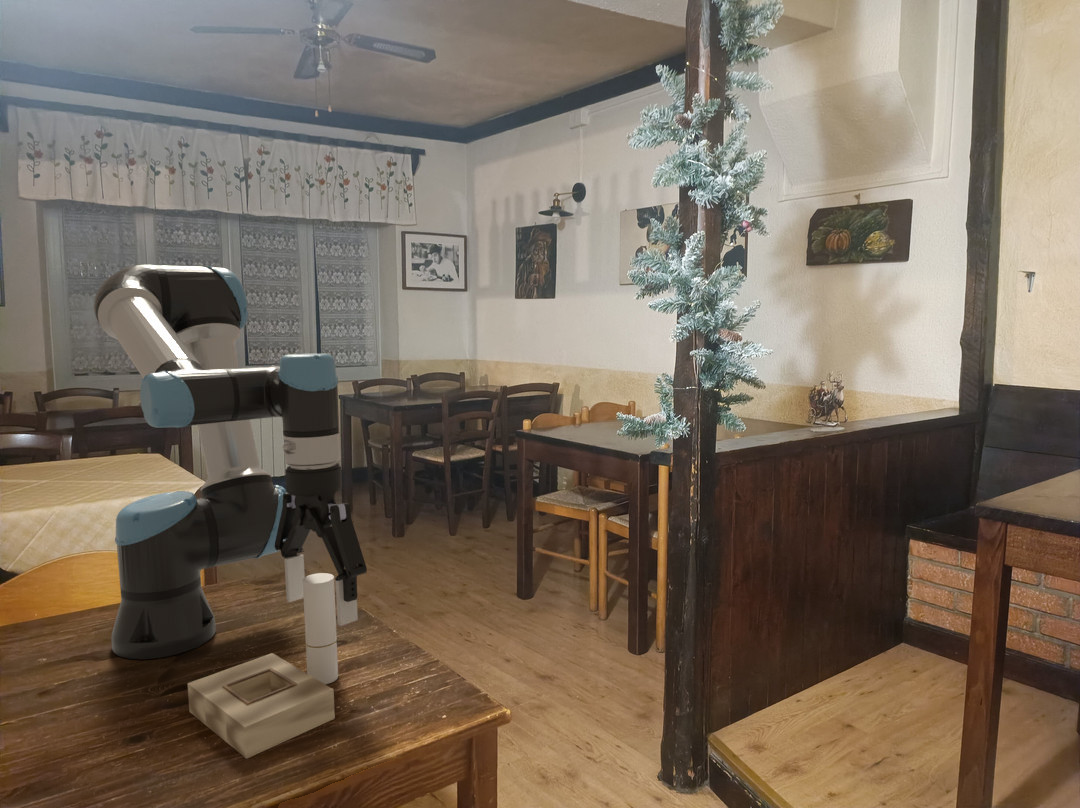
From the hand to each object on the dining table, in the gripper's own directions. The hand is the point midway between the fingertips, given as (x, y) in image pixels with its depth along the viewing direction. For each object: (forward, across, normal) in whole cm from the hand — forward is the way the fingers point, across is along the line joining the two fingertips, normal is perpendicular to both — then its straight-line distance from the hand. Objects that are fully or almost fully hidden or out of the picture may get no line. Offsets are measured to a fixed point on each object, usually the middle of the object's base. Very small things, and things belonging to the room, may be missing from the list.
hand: (321, 610), depth 108 cm
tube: (+10, 0, 0) cm, 11 cm away
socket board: (+10, +2, -11) cm, 15 cm away
